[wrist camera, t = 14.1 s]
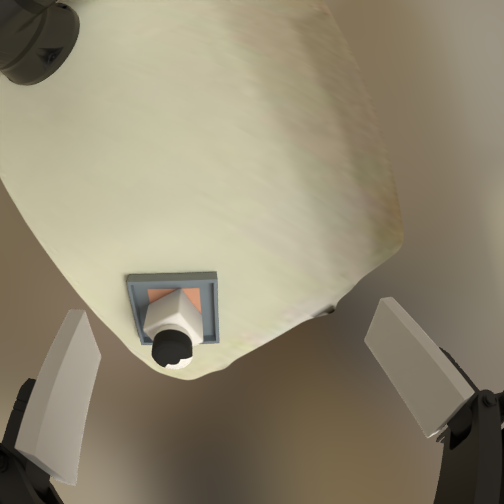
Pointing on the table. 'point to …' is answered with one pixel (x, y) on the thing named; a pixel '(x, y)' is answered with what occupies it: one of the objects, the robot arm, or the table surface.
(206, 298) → the tray
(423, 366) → the robot arm
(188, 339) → the medicine bottle
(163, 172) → the table surface
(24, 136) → the table surface
